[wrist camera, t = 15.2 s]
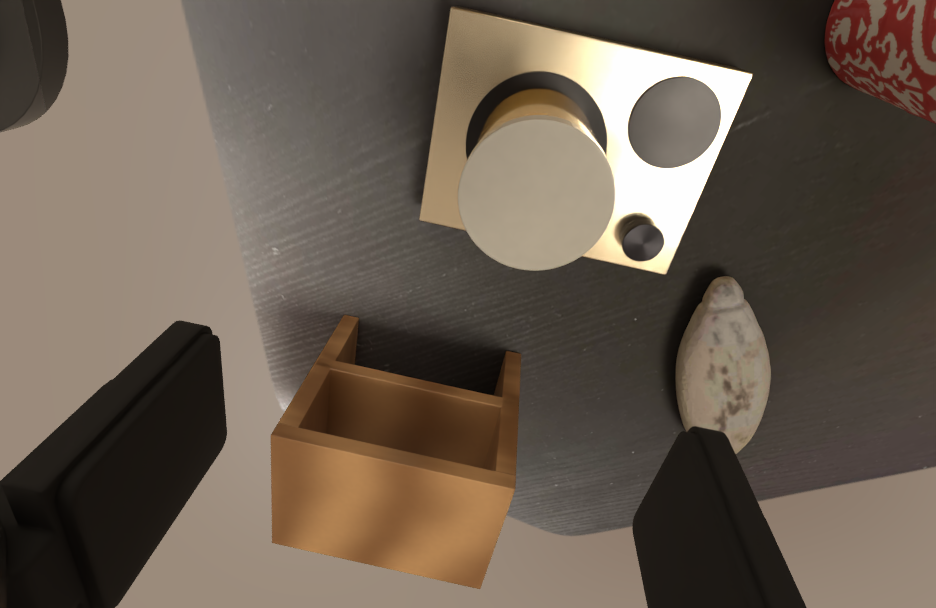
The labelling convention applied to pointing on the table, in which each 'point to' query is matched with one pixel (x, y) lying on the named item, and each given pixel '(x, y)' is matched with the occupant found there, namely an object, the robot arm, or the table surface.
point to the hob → (609, 113)
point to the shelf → (395, 466)
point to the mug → (886, 50)
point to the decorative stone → (723, 365)
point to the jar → (536, 183)
